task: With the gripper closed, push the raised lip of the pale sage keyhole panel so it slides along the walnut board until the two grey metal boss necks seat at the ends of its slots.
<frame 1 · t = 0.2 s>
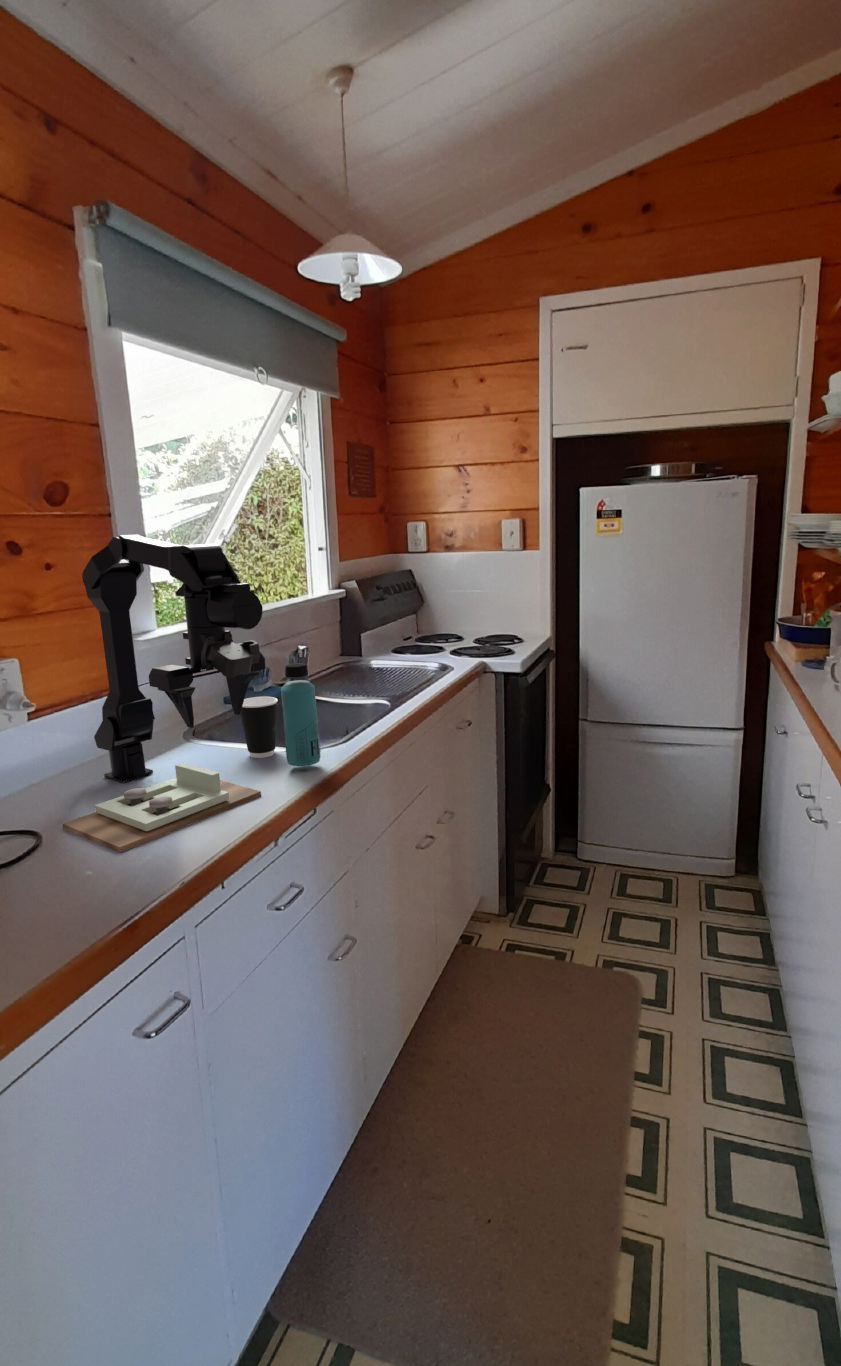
hand: (214, 720, 120), 14 cm above the table, fingers open, 9 cm apart
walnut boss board: (166, 811, 120), on the table
dixie cup: (262, 755, 148), on the table
sage panel: (162, 793, 119), point 3 cm above the table, slide at 0.0 cm
beverage bottle: (304, 769, 138), on the table
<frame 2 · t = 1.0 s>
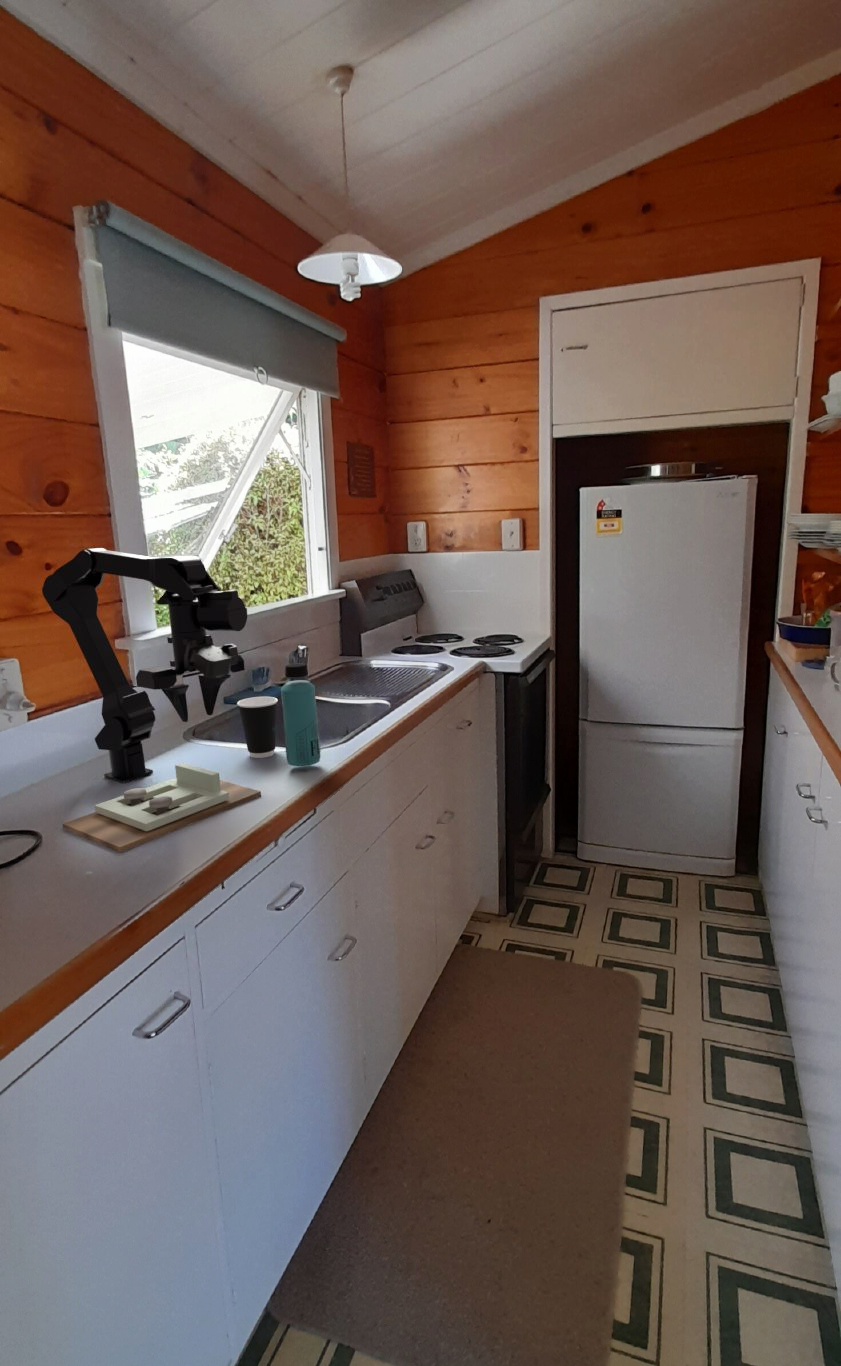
hand: (197, 718, 130), 12 cm above the table, fingers open, 5 cm apart
nothing on the table moved.
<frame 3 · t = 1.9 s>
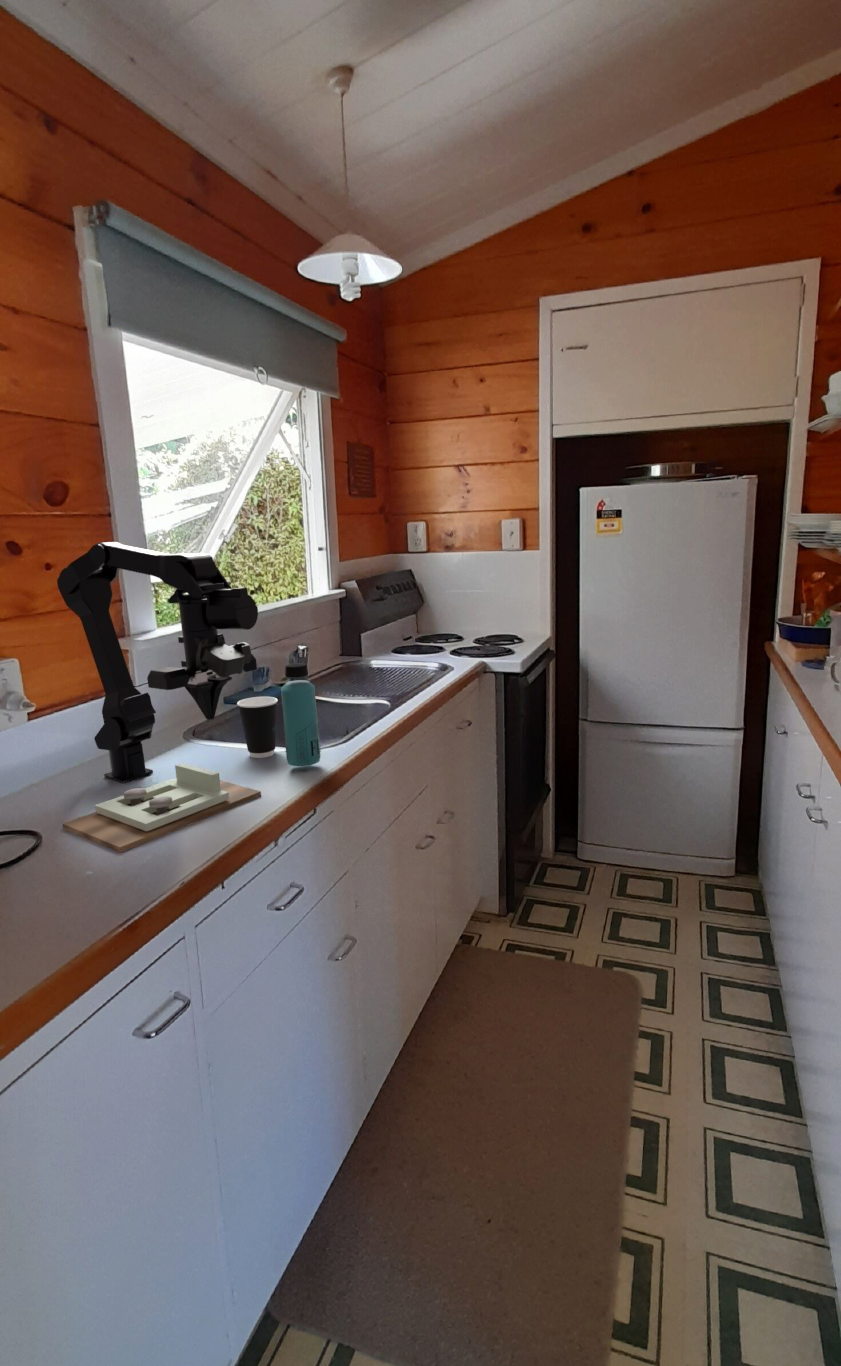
hand: (210, 719, 127), 12 cm above the table, fingers closed
nothing on the table moved.
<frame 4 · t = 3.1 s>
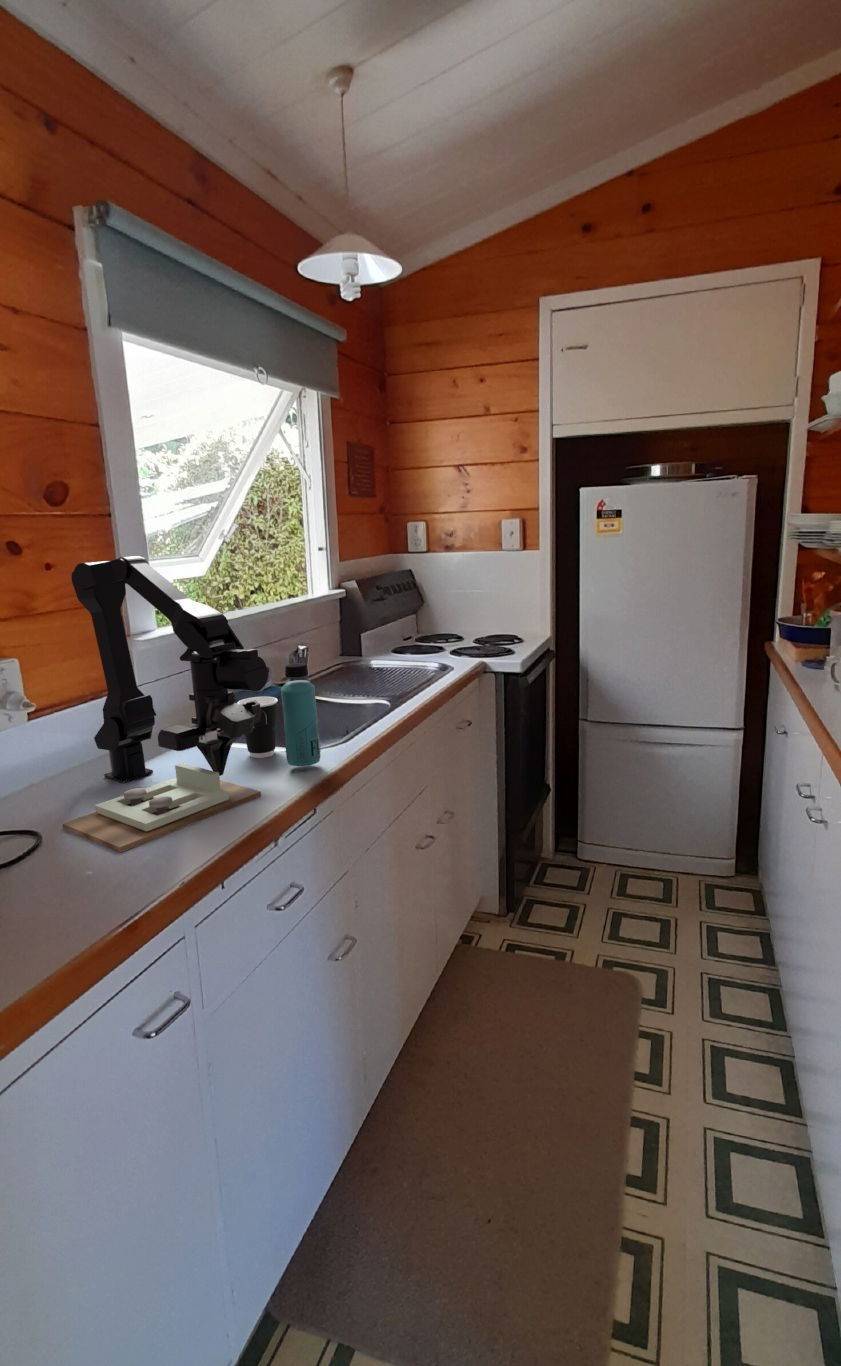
hand: (219, 775, 127), 3 cm above the table, fingers closed
nothing on the table moved.
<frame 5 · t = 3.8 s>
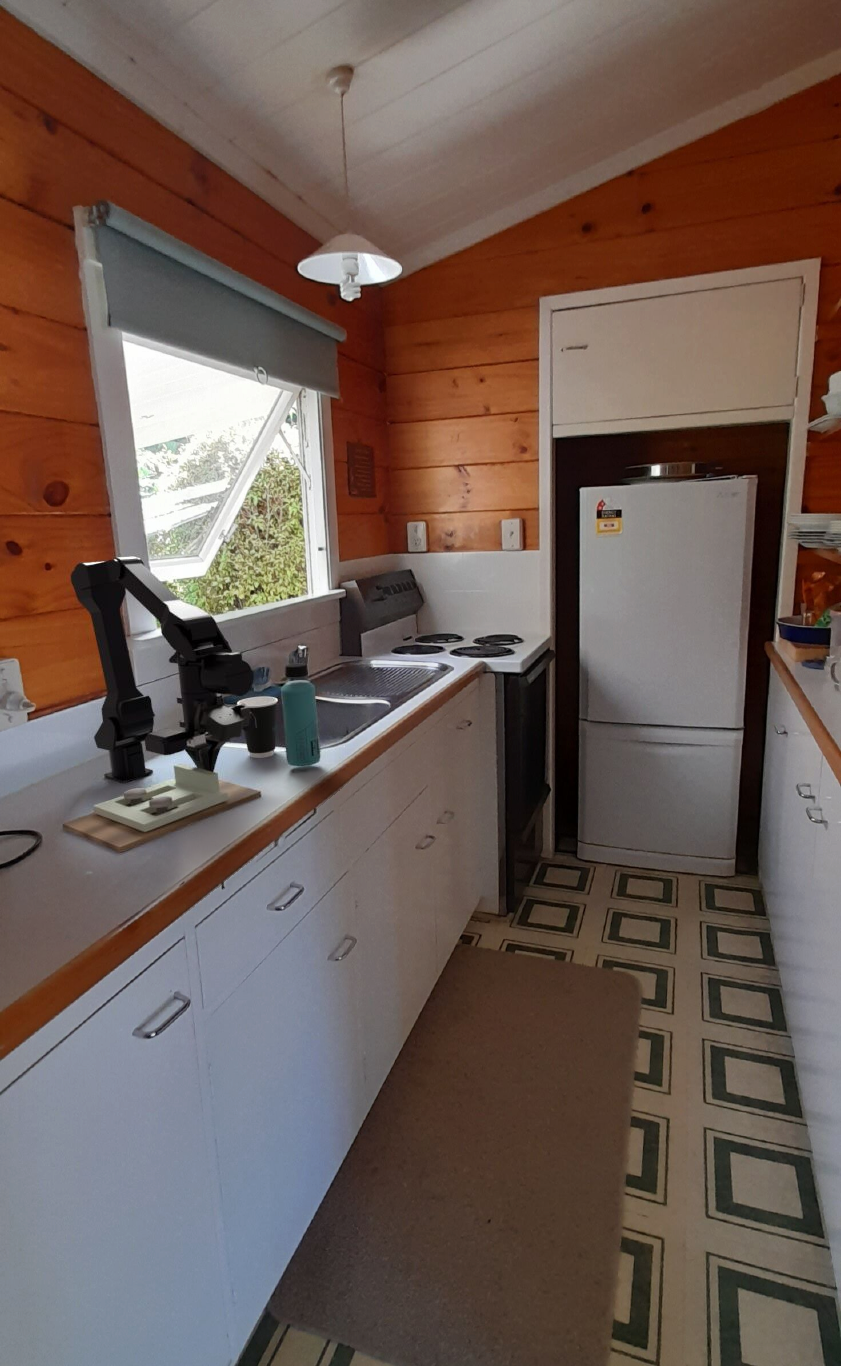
hand: (208, 779, 126), 3 cm above the table, fingers closed
sage panel: (160, 793, 118), point 3 cm above the table, slide at 0.3 cm, touching gripper
everything else where it was.
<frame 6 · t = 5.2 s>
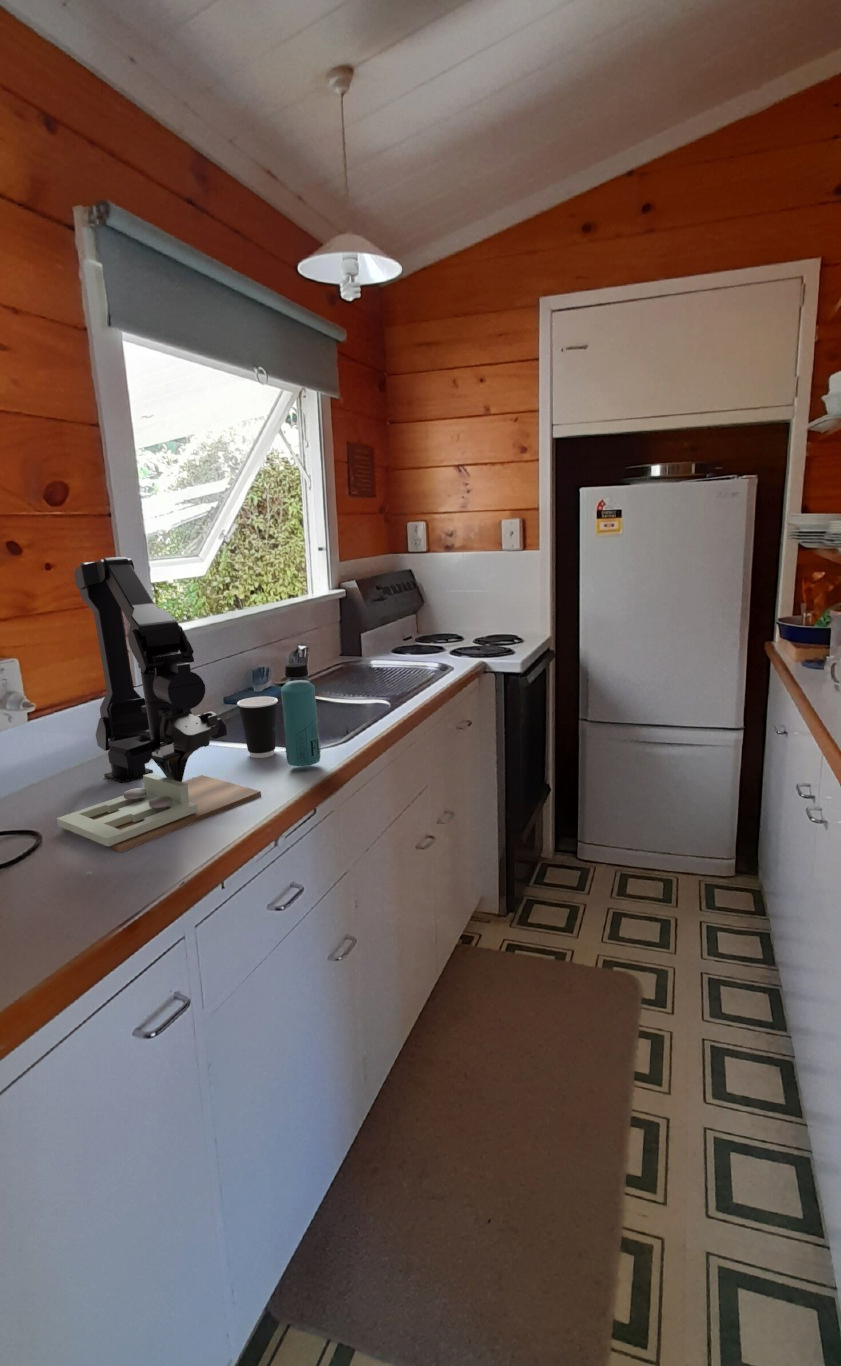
hand: (177, 790, 121), 3 cm above the table, fingers closed
sage panel: (127, 805, 114), point 3 cm above the table, slide at 6.1 cm, touching gripper
everything else where it was.
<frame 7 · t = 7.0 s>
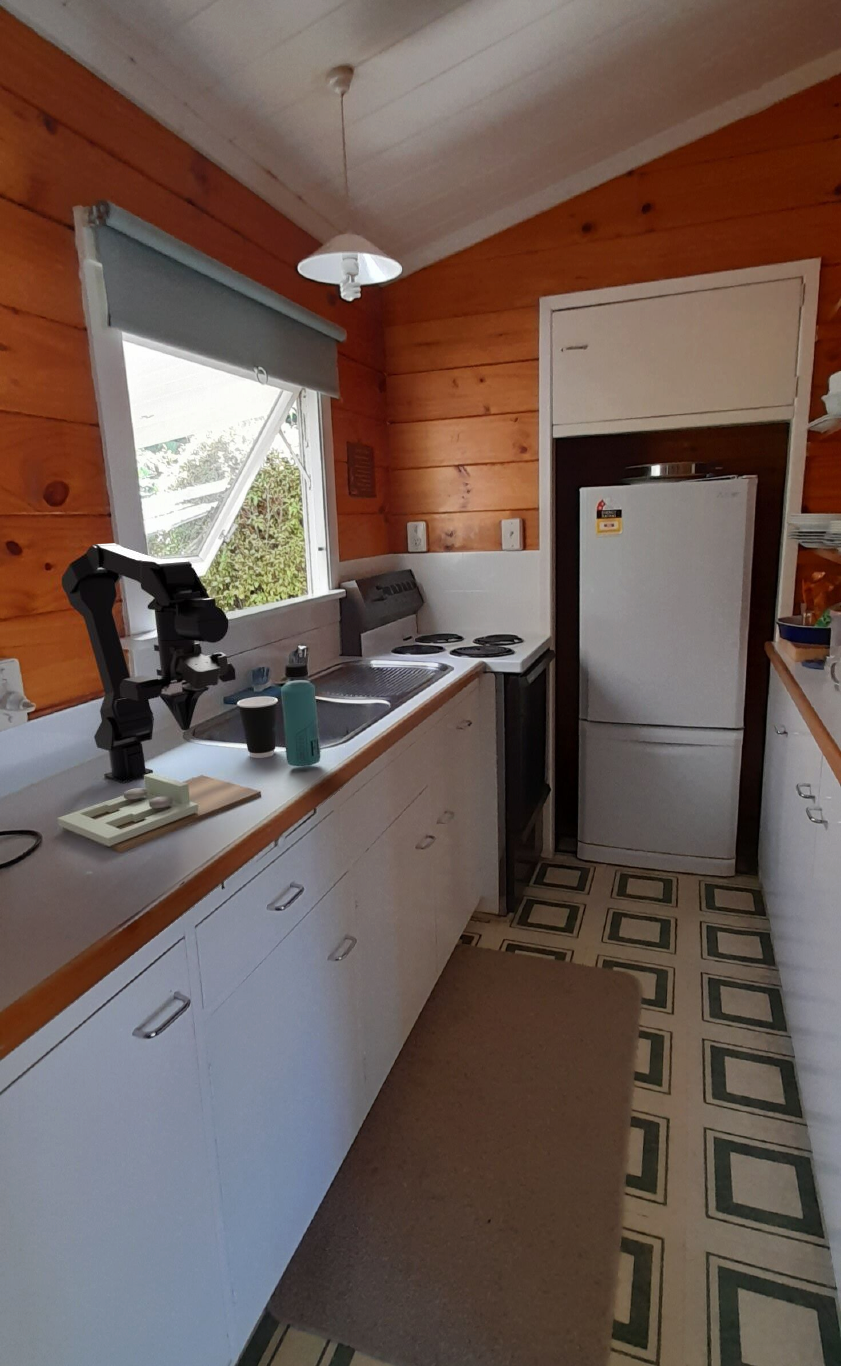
hand: (185, 729, 124), 12 cm above the table, fingers closed
sage panel: (128, 805, 114), point 3 cm above the table, slide at 6.0 cm
everything else where it was.
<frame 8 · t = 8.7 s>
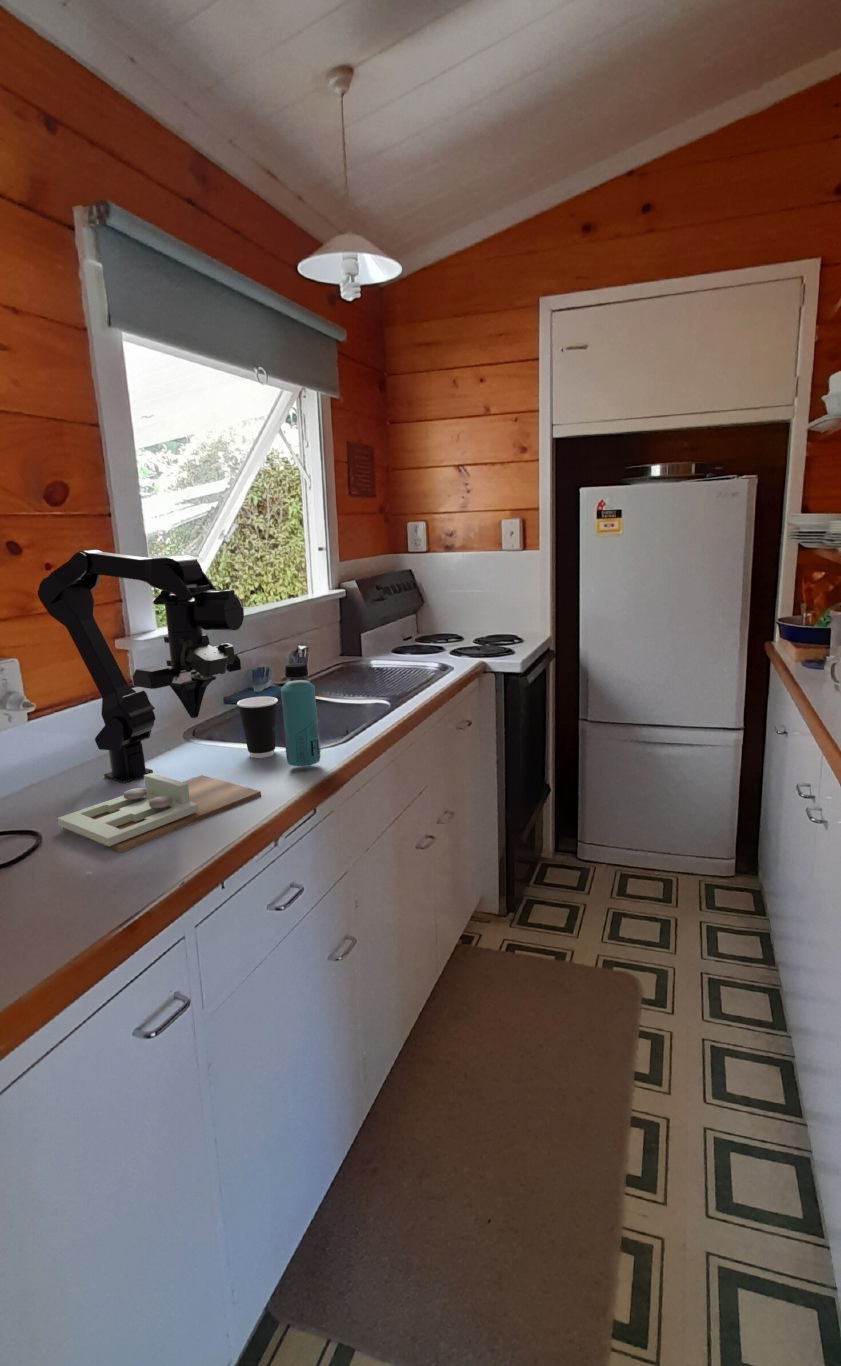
hand: (194, 717, 130), 12 cm above the table, fingers closed
nothing on the table moved.
at the end: sage panel slide at 6.0 cm; the gripper is holding nothing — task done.
